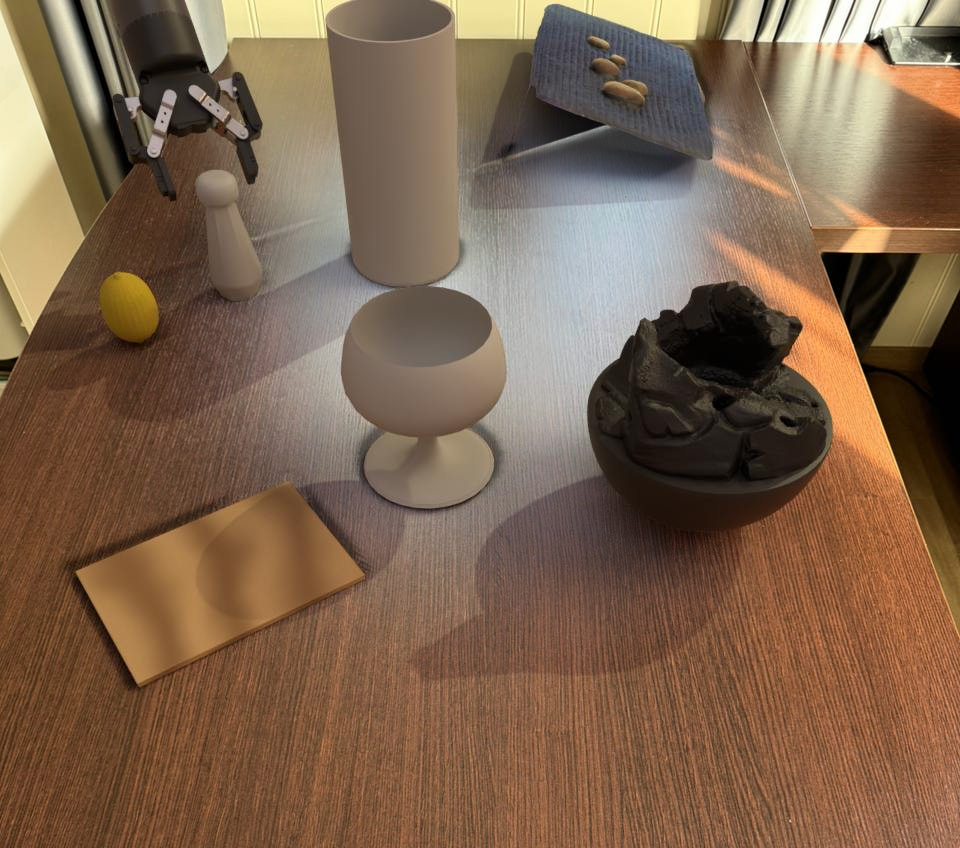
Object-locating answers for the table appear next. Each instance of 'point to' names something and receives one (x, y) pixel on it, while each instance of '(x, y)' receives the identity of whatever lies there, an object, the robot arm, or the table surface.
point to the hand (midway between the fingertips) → (213, 189)
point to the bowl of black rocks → (709, 414)
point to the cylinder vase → (397, 136)
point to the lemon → (128, 307)
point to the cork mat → (216, 581)
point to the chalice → (425, 392)
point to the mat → (620, 80)
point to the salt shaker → (228, 238)
